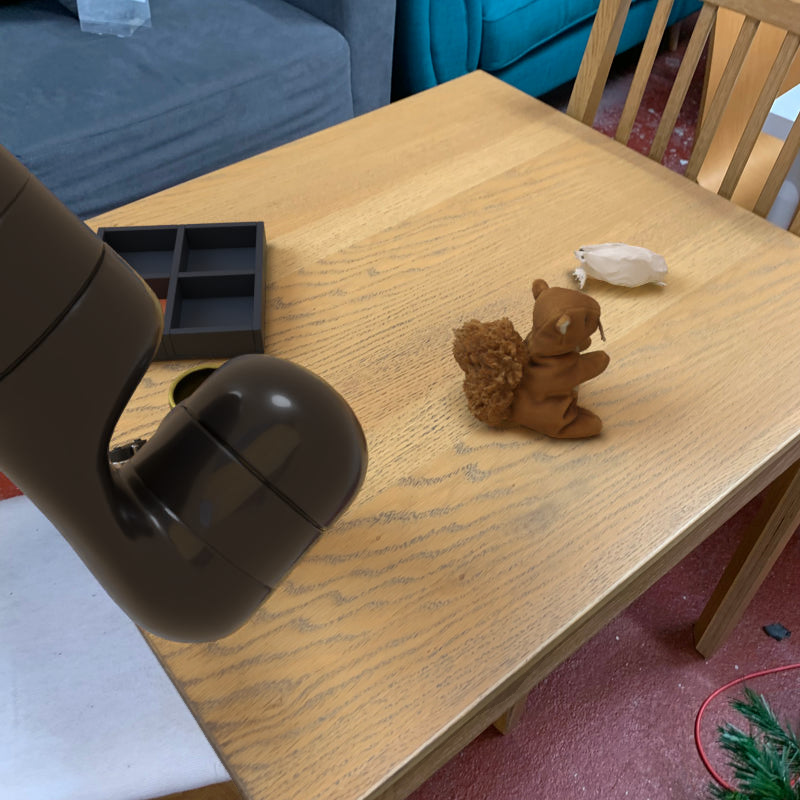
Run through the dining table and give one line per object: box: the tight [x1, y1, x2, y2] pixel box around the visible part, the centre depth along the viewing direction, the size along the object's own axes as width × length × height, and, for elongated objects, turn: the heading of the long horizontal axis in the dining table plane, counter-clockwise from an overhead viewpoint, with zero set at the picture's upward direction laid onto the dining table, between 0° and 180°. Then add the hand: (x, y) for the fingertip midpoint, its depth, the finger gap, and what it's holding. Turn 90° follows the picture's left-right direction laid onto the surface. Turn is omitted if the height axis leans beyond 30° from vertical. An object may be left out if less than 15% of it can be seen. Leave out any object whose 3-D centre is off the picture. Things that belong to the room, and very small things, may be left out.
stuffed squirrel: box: [451, 278, 611, 439], centre depth 69 cm, size 10×14×13 cm
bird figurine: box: [572, 242, 669, 290], centre depth 85 cm, size 5×7×10 cm
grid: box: [96, 220, 268, 362], centre depth 82 cm, size 18×18×4 cm
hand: (215, 436), depth 60 cm, fingers closed on vase, 5 cm apart
